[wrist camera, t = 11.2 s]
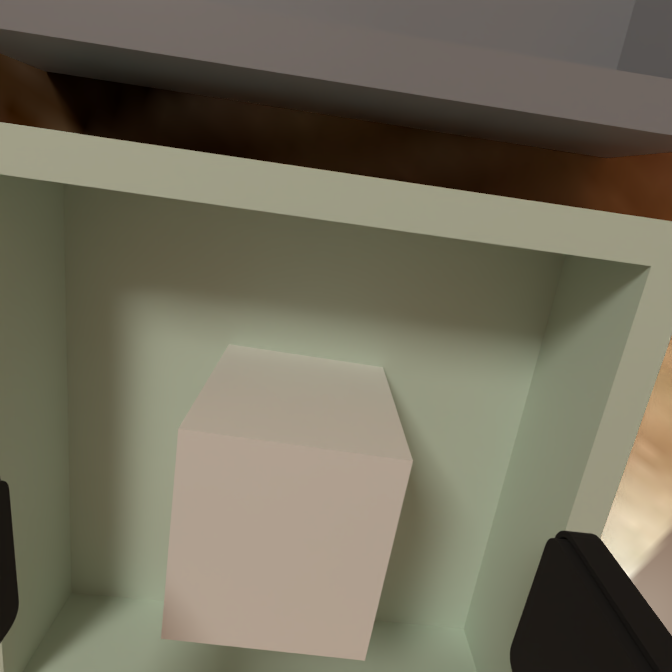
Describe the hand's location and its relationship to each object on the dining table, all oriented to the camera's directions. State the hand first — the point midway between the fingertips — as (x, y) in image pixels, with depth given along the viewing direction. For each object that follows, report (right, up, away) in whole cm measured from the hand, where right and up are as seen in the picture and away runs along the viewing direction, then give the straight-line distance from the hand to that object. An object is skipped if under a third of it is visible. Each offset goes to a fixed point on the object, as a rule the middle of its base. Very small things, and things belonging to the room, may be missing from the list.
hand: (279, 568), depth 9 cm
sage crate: (0, +1, +7) cm, 7 cm away
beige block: (0, +1, +6) cm, 6 cm away
